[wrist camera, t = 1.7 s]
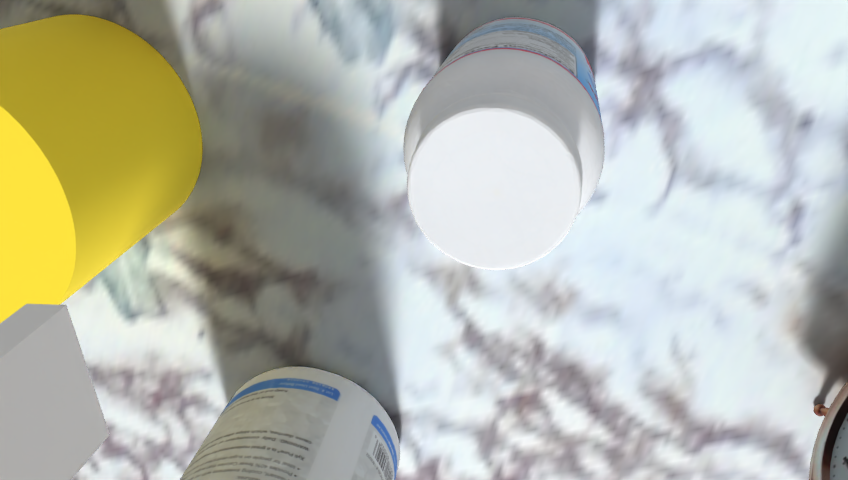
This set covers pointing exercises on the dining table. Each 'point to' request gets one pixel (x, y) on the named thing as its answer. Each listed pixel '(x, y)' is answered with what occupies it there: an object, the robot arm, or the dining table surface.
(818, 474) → the alarm clock
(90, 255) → the yellow toilet paper roll
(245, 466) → the supplement tub
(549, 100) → the pill bottle
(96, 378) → the dining table surface
